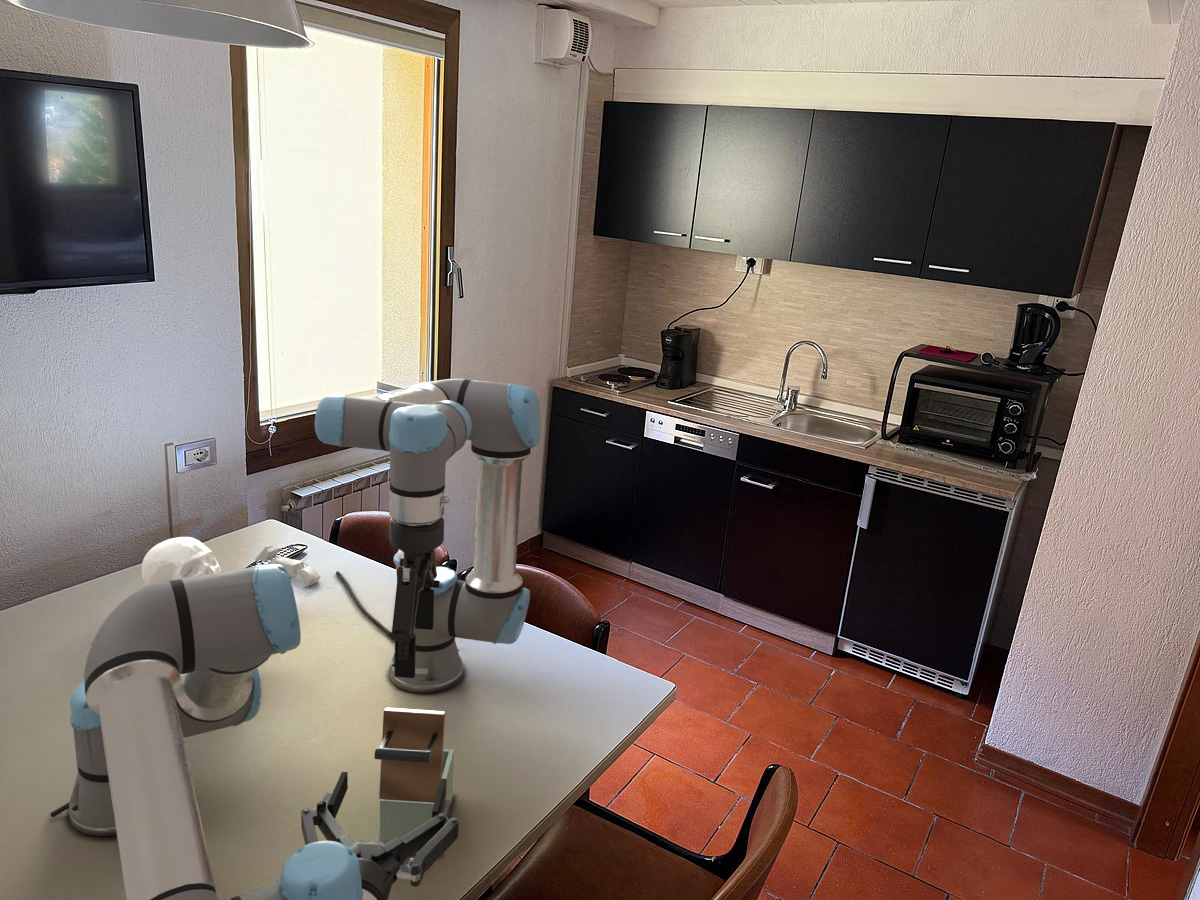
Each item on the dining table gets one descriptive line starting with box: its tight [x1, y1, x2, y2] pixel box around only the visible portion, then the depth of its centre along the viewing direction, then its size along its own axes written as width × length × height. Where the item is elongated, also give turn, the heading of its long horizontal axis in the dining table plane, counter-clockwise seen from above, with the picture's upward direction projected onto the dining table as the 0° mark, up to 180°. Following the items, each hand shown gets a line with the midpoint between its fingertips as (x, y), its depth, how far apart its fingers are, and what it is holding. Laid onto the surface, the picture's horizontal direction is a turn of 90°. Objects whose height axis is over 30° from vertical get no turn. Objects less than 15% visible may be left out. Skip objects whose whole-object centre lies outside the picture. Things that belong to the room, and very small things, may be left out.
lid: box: [374, 706, 446, 803], centre depth 126 cm, size 14×9×9 cm
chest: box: [379, 748, 455, 855], centre depth 139 cm, size 14×9×10 cm
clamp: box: [254, 544, 322, 587], centre depth 219 cm, size 20×4×7 cm, turn 62°
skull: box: [140, 536, 222, 587], centre depth 201 cm, size 13×22×16 cm, turn 73°
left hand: (394, 783), depth 118 cm, fingers open, 13 cm apart
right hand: (415, 651), depth 126 cm, fingers open, 13 cm apart
